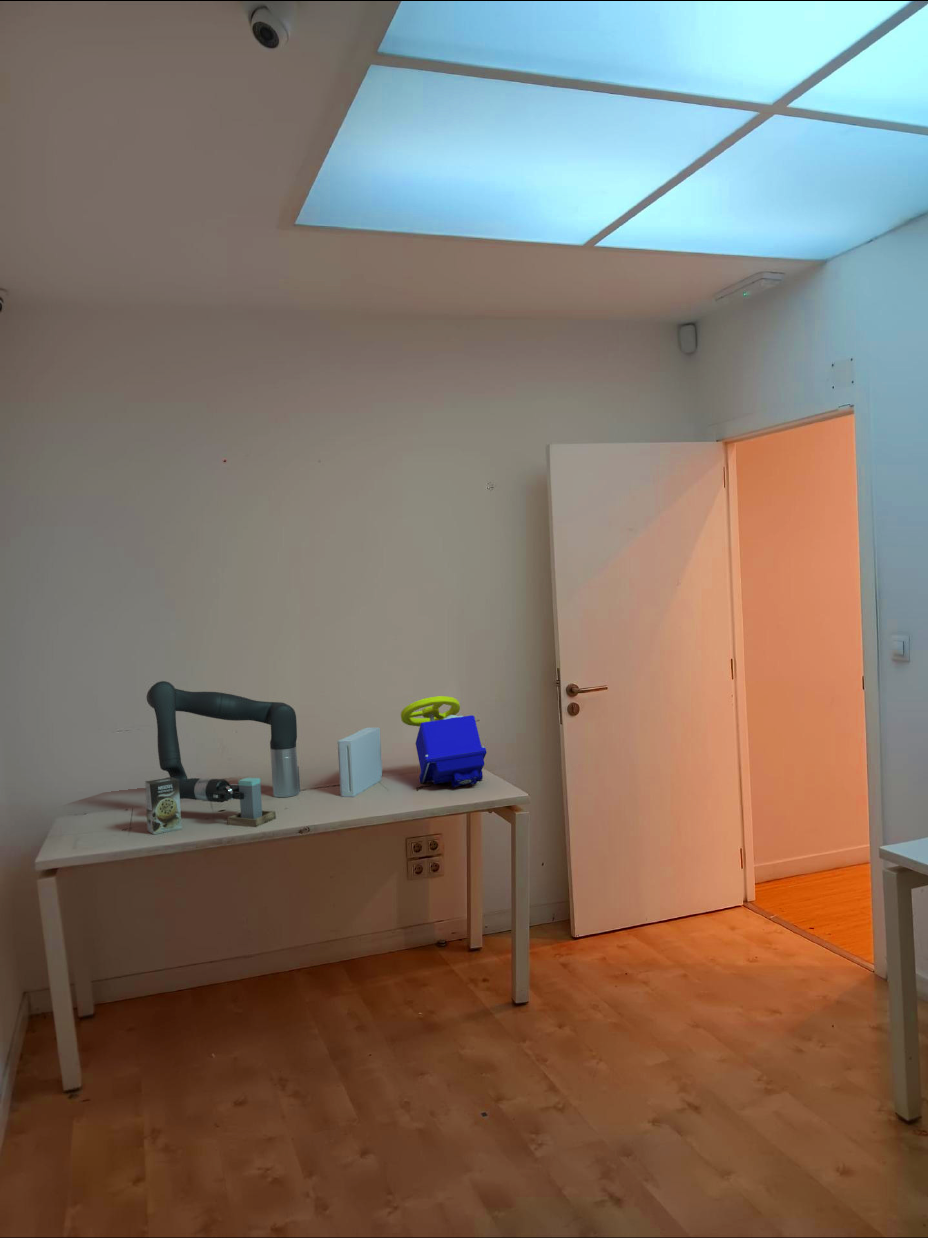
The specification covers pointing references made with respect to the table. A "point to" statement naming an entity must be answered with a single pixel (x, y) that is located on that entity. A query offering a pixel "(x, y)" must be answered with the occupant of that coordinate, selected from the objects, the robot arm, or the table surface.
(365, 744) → the game console
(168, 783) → the coffee box
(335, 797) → the table surface
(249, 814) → the teal box
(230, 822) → the tray
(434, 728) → the valve actuator
